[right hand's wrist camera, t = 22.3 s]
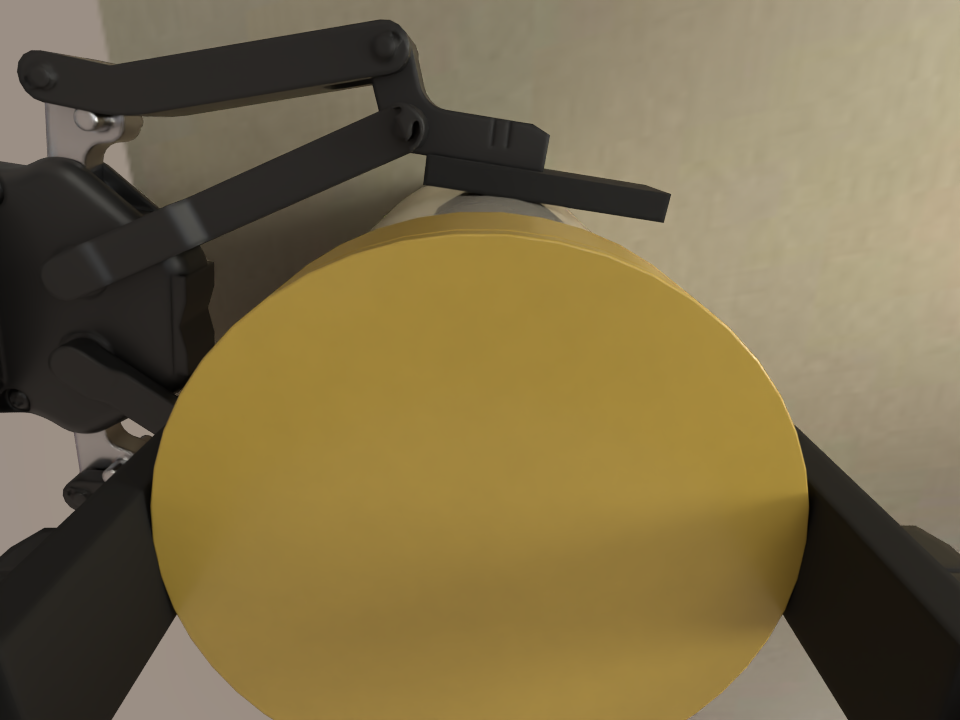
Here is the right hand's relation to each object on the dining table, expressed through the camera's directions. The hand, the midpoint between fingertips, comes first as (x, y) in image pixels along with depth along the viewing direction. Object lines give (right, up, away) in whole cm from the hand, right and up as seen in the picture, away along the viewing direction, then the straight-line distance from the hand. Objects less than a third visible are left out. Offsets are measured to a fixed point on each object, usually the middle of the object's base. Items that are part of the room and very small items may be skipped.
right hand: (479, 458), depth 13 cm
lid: (0, -1, -3) cm, 3 cm away
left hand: (+4, +2, +6) cm, 8 cm away
